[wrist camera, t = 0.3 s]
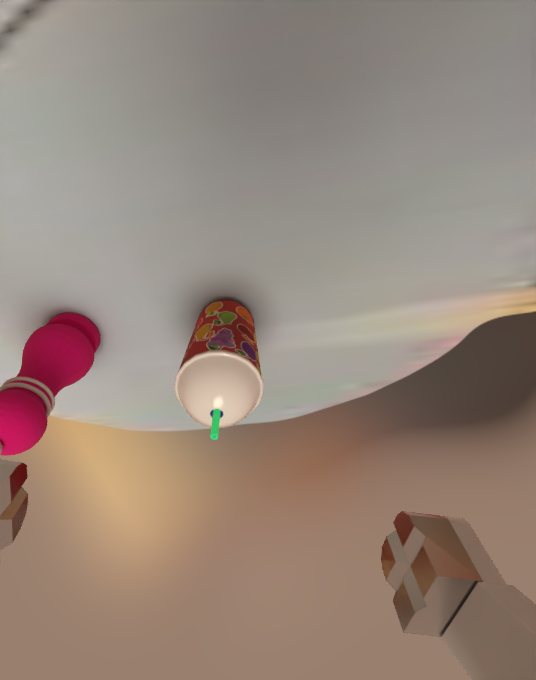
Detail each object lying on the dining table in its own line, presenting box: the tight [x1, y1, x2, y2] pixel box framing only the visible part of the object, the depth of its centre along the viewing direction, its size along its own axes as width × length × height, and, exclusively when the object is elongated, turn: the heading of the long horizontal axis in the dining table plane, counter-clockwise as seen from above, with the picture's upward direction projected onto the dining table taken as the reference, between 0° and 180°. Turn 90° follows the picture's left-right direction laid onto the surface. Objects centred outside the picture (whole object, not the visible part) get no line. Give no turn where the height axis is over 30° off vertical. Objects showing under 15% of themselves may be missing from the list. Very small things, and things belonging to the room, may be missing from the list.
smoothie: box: [174, 300, 263, 440], centre depth 41 cm, size 8×8×20 cm
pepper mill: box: [0, 313, 100, 455], centre depth 42 cm, size 7×7×20 cm
